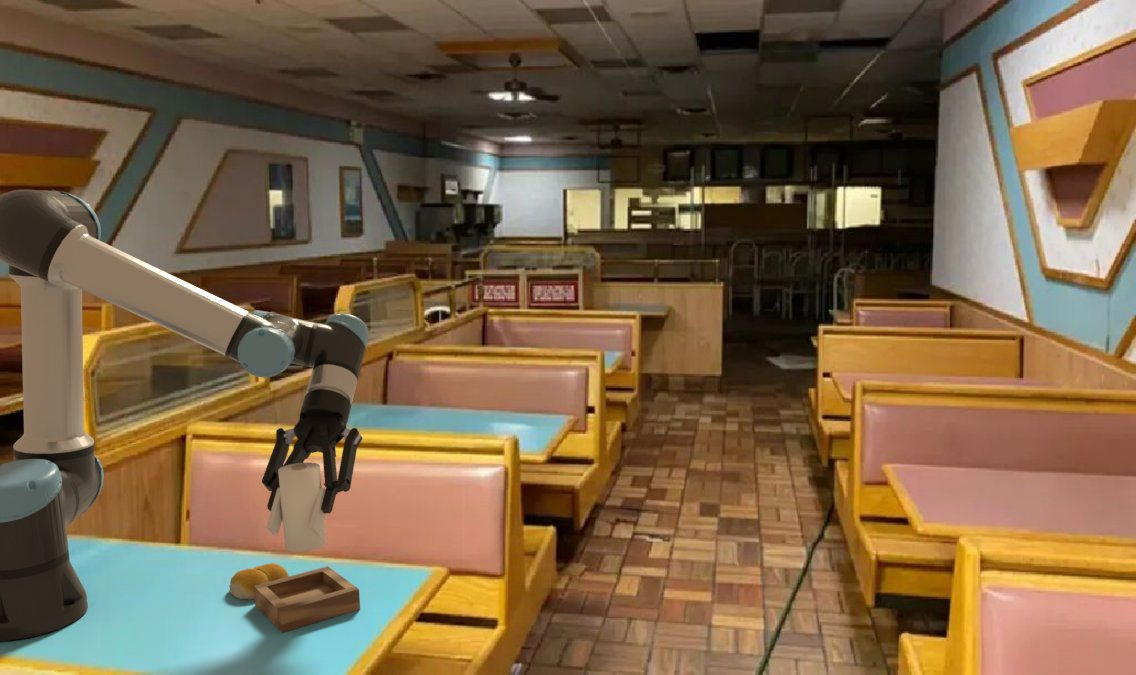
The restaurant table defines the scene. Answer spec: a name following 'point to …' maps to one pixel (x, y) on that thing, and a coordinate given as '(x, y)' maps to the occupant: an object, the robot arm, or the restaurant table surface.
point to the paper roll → (300, 505)
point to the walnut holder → (306, 598)
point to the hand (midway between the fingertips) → (293, 531)
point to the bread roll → (254, 579)
